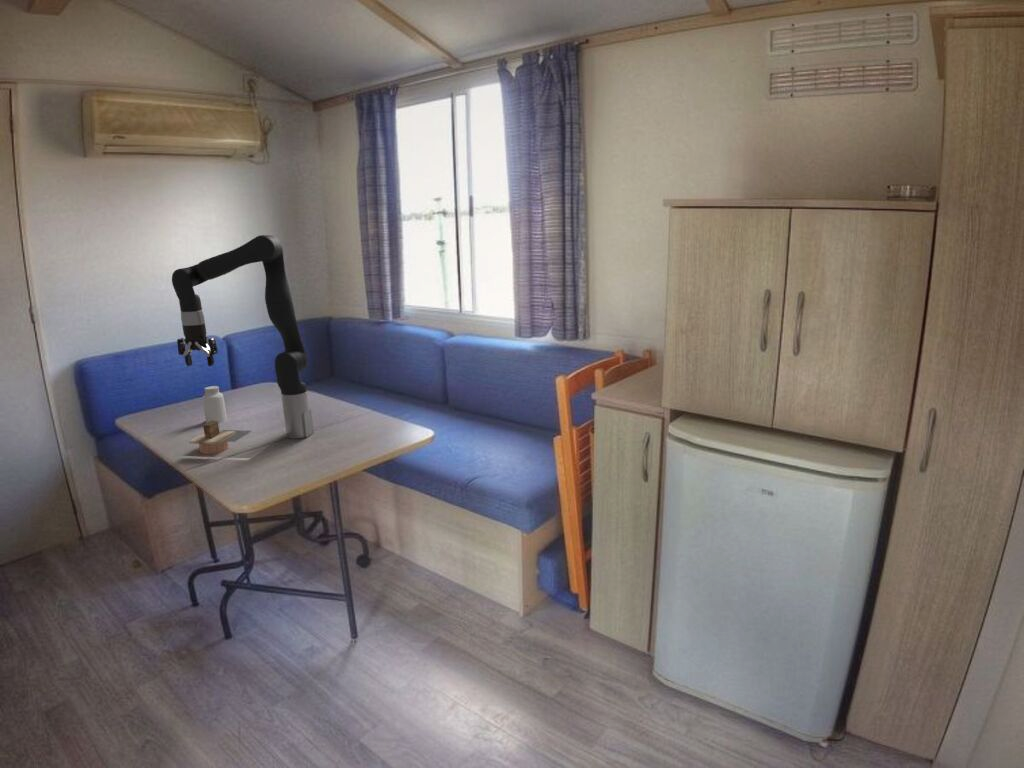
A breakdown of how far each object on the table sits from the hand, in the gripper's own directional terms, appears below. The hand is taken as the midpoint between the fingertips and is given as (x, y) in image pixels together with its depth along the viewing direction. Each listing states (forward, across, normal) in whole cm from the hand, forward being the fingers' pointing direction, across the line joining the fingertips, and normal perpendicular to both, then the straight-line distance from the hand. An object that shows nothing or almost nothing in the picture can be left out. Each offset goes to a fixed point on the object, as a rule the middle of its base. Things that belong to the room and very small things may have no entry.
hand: (200, 365), depth 230 cm
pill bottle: (+28, +8, -16) cm, 33 cm away
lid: (+23, -11, +15) cm, 30 cm away
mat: (+28, -8, +1) cm, 29 cm away
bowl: (+28, -11, +15) cm, 34 cm away
